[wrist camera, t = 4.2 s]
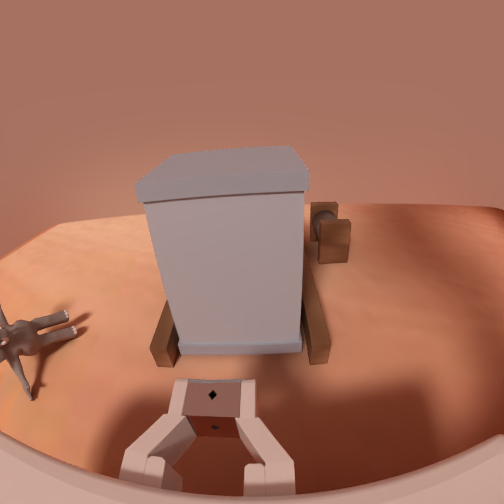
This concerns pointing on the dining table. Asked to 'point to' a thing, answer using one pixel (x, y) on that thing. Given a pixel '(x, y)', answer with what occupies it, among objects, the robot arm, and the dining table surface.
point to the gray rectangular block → (230, 247)
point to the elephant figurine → (30, 339)
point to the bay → (329, 251)
